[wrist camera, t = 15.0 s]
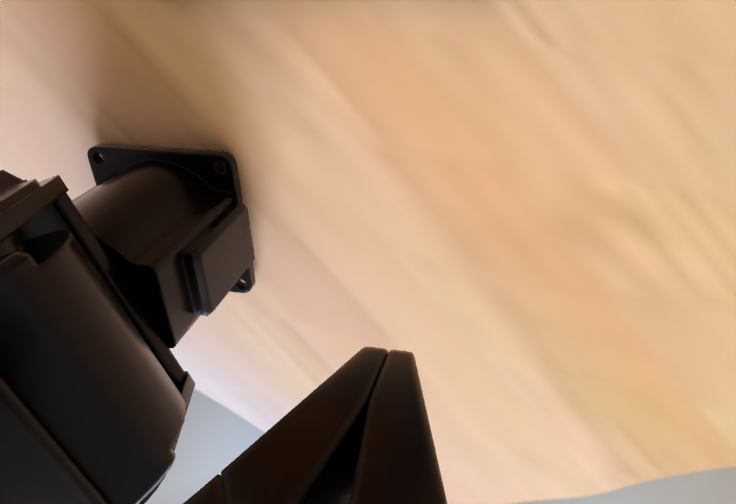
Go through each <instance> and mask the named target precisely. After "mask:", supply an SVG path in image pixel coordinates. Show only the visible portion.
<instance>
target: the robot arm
mask: <svg viewBox="0 0 736 504" xmlns="http://www.w3.org/2000/svg"><path fill="white" fill-rule="evenodd" d="M99 153H100V154H101V155H102V156H103V158H104V160H103V159H102V158H101V157H100V155H99ZM88 159H89V162H90V166H91V169H92V172H93V175H94V179H95V182H96V186H95V187H93V188H92V189H90V190H88V191H87V192H85V193H84V194H82V195H81V196H79V197H77V198H76V199H74V200H73V201H71V199H70V198H69V196H68V195H67V193H66V192H67V191H68V188H67V187H66V185H65V184H64V182H63V181H62V179H61V178H60V176H59V175H57V176H54V177H52V178H49V179H46V180H43V181H41V182H38V181H37V180H36V179H34V180H30V181H27V179H26V180H22V179H20V178H18V177H16V176H14V175H12V174H10V173H8V172H6V171H4V170H1V171H0V504H144V503H145V502H146V501H147V500H148V499H149V498H150V497H151V495H152V494H153V493H154V492H155V491H156V490H157V488H158V487H159V485H160V483H161V482H162V480H163V479H164V477H165V475H166V473H167V472H168V471H169V470H170V468H171V467H172V465H173V462H174V460H175V453H174V451H175V447H176V444H177V441H178V438H179V434H180V431H181V428H182V425H183V423H184V419H185V415H186V412H187V408H188V405H189V402H190V399H191V396H192V392H193V389H194V386H195V382H194V381H193V379H192V378H191V376H190V375H189V373H188V372H187V371H183V369H182V368H181V366H180V365H179V363H178V362H177V360H176V359H175V357H174V356H173V354H172V352H171V351H170V349H169V348H174V347H175V346H176V345H177V343H178V342H179V341H180V340H181V338H182V337H183V336H184V335H185V333H186V332H187V331H188V330H189V329H190V327H191V326H192V325H193V324H194V322H195V321H196V320H197V319H198V317H199V316H200V315H204V316H208V315H209V314H211V313H212V312H213V311H214V310H215V308H216V307H217V306H218V305H219V303H220V302H221V301H222V299H223V298H224V297H225V296H226V294H227V293H228V292H229V291H231V292H239V293H247V292H249V291H250V290H251V288H252V287H253V286H254V284H255V276H254V270H253V263H252V261H253V260H254V258H255V256H254V250H253V243H252V237H251V230H250V224H249V217H248V211H247V208H246V206H245V205H244V204H243V201H242V194H241V188H240V182H239V176H238V169H237V164H236V161H235V159H234V158H233V156H232V155H231V154H229V153H227V152H224V151H210V150H194V149H179V148H163V147H148V146H132V145H116V144H97V145H95V146H93V147H91V148H90V149H89V151H88ZM219 161H221V162H223V163H224V164H225V165H226V167H227V168H226V169H223V168H222V167H221V166H220V164H219ZM240 279H242V280H244V281H245V282H246V283H243V282H242V281H241V280H240ZM183 504H447V500H446V496H445V491H444V487H443V482H442V478H441V473H440V469H439V465H438V460H437V456H436V451H435V447H434V442H433V438H432V433H431V429H430V424H429V420H428V416H427V411H426V407H425V402H424V398H423V393H422V389H421V384H420V380H419V376H418V371H417V367H416V362H415V358H414V355H413V353H411V352H407V351H399V350H391V351H389V352H388V351H387V350H386V349H383V348H375V347H364V348H363V349H361V350H360V351H359V352H358V353H357V354H355V355H354V356H353V357H352V358H351V359H350V360H349V361H347V362H346V363H345V364H344V365H343V366H342V367H341V368H339V369H338V370H337V371H336V372H335V373H334V374H333V375H331V376H330V377H329V378H328V379H327V380H326V381H325V382H323V383H322V384H321V385H320V386H319V387H318V388H316V389H315V390H314V391H313V392H312V393H311V394H310V395H308V396H307V397H306V398H305V399H304V400H303V401H302V402H300V403H299V404H298V405H297V406H296V407H295V408H294V409H292V410H291V411H290V412H289V413H288V414H287V415H285V416H284V417H283V418H282V419H281V420H280V421H279V422H277V423H276V424H275V425H274V426H273V427H272V428H271V429H269V430H268V431H267V432H266V433H265V434H264V435H263V436H261V437H260V438H259V439H258V440H257V441H256V442H255V443H253V444H252V445H251V446H250V447H249V448H248V449H246V450H245V451H244V452H243V453H242V454H241V455H240V456H239V457H237V458H236V459H235V460H234V461H233V462H232V463H230V464H229V465H228V466H227V467H226V468H225V469H224V470H222V472H221V475H216V476H215V477H214V478H213V479H212V480H211V481H209V482H208V483H207V484H206V485H205V486H204V487H203V488H201V489H200V490H199V491H198V492H197V493H195V494H194V495H193V496H192V497H191V498H189V499H188V500H187V501H186V502H185V503H183Z"/></svg>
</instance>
